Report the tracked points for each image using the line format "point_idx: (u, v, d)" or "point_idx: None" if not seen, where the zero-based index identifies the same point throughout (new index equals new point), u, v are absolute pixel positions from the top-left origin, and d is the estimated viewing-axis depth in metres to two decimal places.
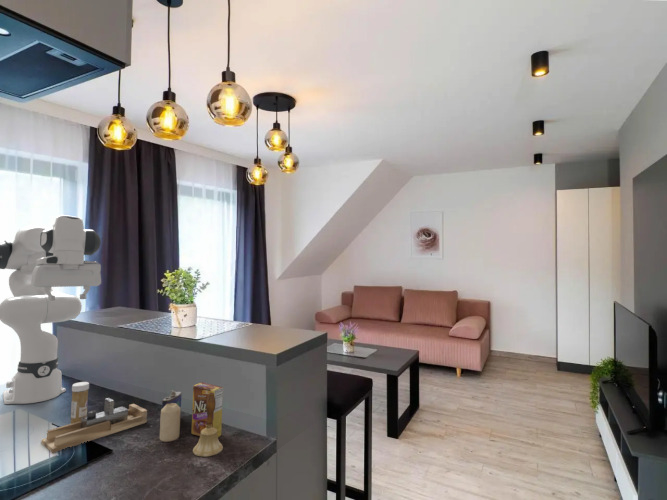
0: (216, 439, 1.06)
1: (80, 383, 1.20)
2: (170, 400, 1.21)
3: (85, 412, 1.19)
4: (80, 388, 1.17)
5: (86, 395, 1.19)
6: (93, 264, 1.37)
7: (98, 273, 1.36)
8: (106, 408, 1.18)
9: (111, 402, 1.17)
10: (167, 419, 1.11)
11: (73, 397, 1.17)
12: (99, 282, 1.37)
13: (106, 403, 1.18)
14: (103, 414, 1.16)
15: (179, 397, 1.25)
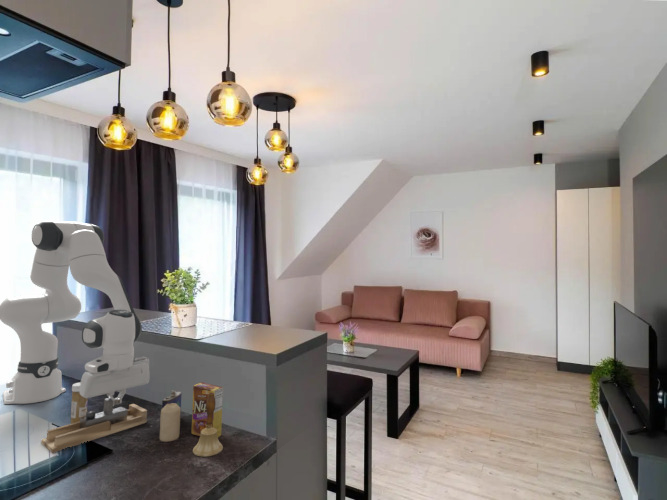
0: (216, 439, 1.06)
1: None
2: (170, 400, 1.21)
3: (85, 412, 1.19)
4: None
5: None
6: (142, 360, 1.26)
7: (147, 370, 1.26)
8: (105, 408, 1.17)
9: (110, 402, 1.16)
10: (167, 419, 1.11)
11: (73, 397, 1.17)
12: (148, 380, 1.26)
13: (105, 403, 1.17)
14: (102, 414, 1.16)
15: (179, 397, 1.25)
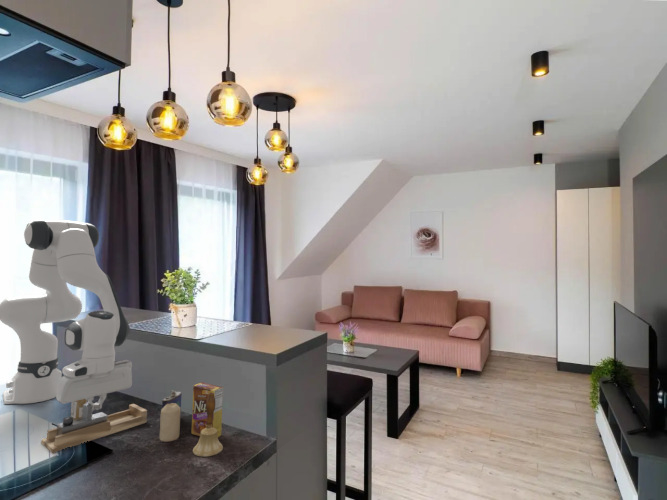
0: (216, 439, 1.06)
1: None
2: (170, 400, 1.21)
3: None
4: None
5: None
6: (124, 364, 1.21)
7: (129, 374, 1.21)
8: (84, 414, 1.13)
9: (89, 408, 1.12)
10: (167, 419, 1.11)
11: None
12: (130, 384, 1.21)
13: (84, 409, 1.13)
14: (81, 420, 1.11)
15: (179, 397, 1.25)
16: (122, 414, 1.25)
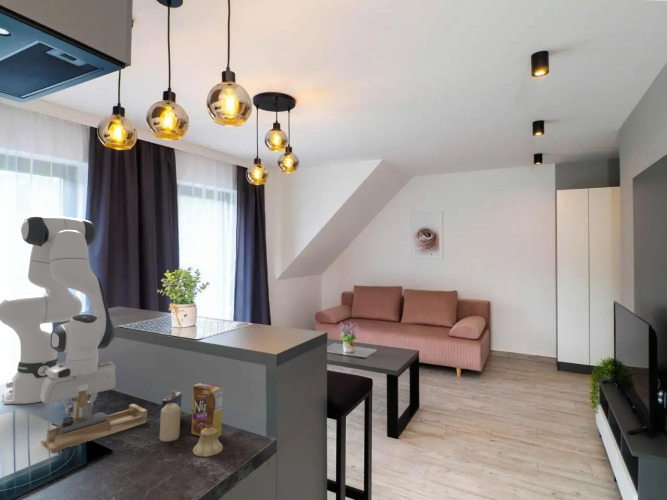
0: (216, 439, 1.06)
1: None
2: (170, 400, 1.21)
3: None
4: (80, 388, 1.17)
5: (86, 395, 1.19)
6: (108, 365, 1.26)
7: (113, 376, 1.25)
8: (84, 414, 1.12)
9: (89, 408, 1.12)
10: (167, 419, 1.11)
11: None
12: (113, 385, 1.26)
13: (84, 409, 1.13)
14: (81, 421, 1.11)
15: (179, 397, 1.25)
16: (122, 414, 1.25)
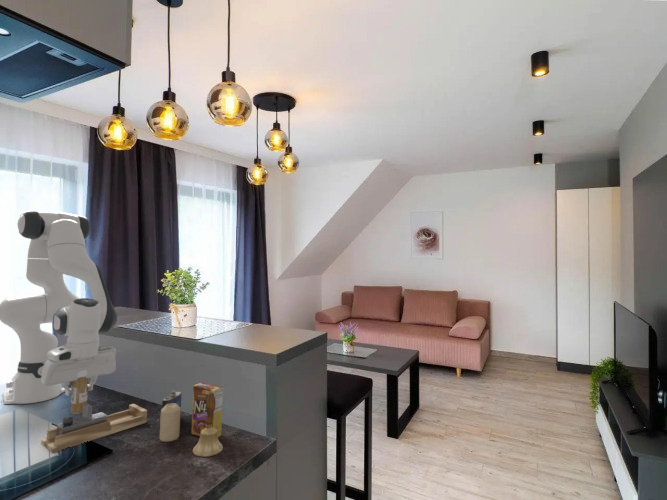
0: (216, 439, 1.06)
1: None
2: (170, 400, 1.21)
3: (85, 397, 1.20)
4: (79, 374, 1.18)
5: (86, 381, 1.20)
6: (108, 349, 1.26)
7: (113, 360, 1.26)
8: (84, 414, 1.12)
9: (89, 408, 1.12)
10: (167, 419, 1.11)
11: (73, 383, 1.18)
12: (113, 369, 1.26)
13: (84, 409, 1.13)
14: (81, 421, 1.11)
15: (179, 397, 1.25)
16: (122, 414, 1.25)
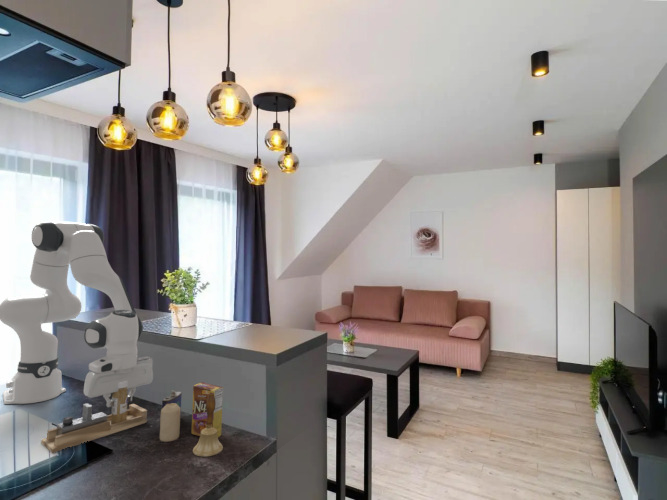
0: (216, 439, 1.06)
1: None
2: (170, 400, 1.21)
3: (126, 408, 1.20)
4: (120, 385, 1.18)
5: (126, 392, 1.20)
6: (145, 360, 1.27)
7: (150, 370, 1.27)
8: (84, 414, 1.12)
9: (89, 408, 1.12)
10: (167, 419, 1.11)
11: (114, 394, 1.18)
12: (151, 380, 1.27)
13: (84, 409, 1.13)
14: (81, 421, 1.11)
15: (179, 397, 1.25)
16: None
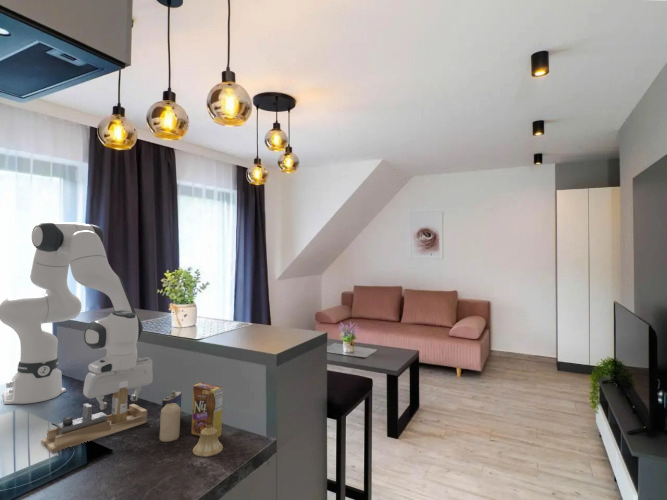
0: (216, 439, 1.06)
1: None
2: (170, 400, 1.21)
3: (126, 408, 1.20)
4: (121, 385, 1.19)
5: (126, 392, 1.21)
6: (145, 361, 1.27)
7: (150, 371, 1.27)
8: (84, 414, 1.12)
9: (89, 408, 1.12)
10: (167, 419, 1.11)
11: (114, 394, 1.19)
12: (151, 380, 1.27)
13: (84, 409, 1.13)
14: (81, 421, 1.11)
15: (179, 397, 1.25)
16: None
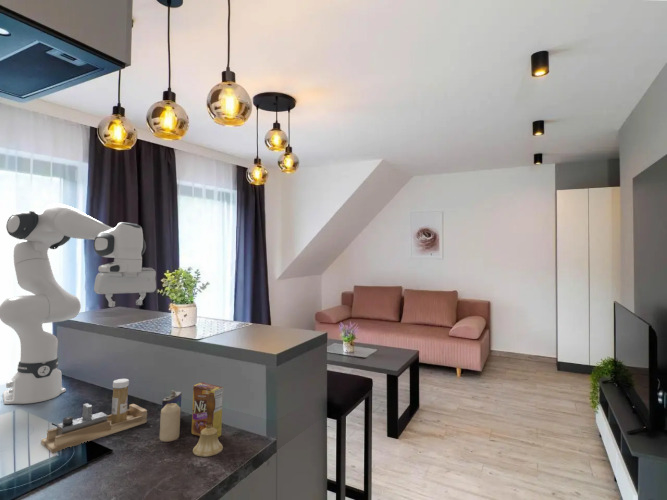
0: (216, 439, 1.06)
1: (120, 380, 1.21)
2: (170, 400, 1.21)
3: (126, 408, 1.20)
4: (121, 385, 1.19)
5: (126, 392, 1.21)
6: (149, 271, 1.40)
7: (153, 280, 1.40)
8: (84, 414, 1.12)
9: (89, 408, 1.12)
10: (167, 419, 1.11)
11: (114, 394, 1.19)
12: (154, 289, 1.40)
13: (84, 409, 1.13)
14: (81, 421, 1.11)
15: (179, 397, 1.25)
16: None
